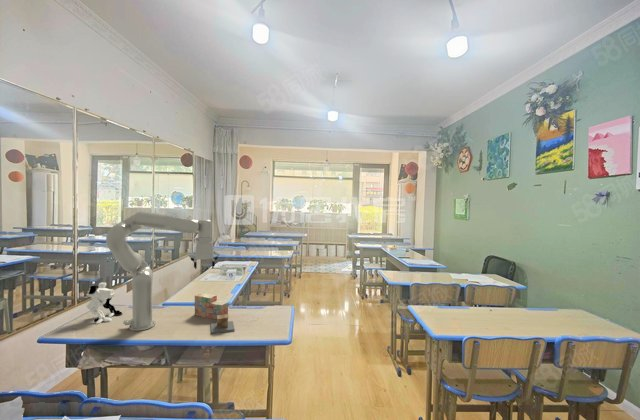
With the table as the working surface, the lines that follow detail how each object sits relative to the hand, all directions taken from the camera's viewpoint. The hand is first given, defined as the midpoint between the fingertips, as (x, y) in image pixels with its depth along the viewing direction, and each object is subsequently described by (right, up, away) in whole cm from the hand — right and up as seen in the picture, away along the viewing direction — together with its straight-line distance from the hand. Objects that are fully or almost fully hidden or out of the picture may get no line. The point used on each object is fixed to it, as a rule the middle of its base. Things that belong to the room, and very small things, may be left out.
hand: (204, 268), depth 182 cm
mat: (+16, -31, -14) cm, 37 cm away
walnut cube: (+16, -30, -14) cm, 36 cm away
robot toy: (-59, -29, -3) cm, 66 cm away
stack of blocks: (+3, -31, +3) cm, 31 cm away
